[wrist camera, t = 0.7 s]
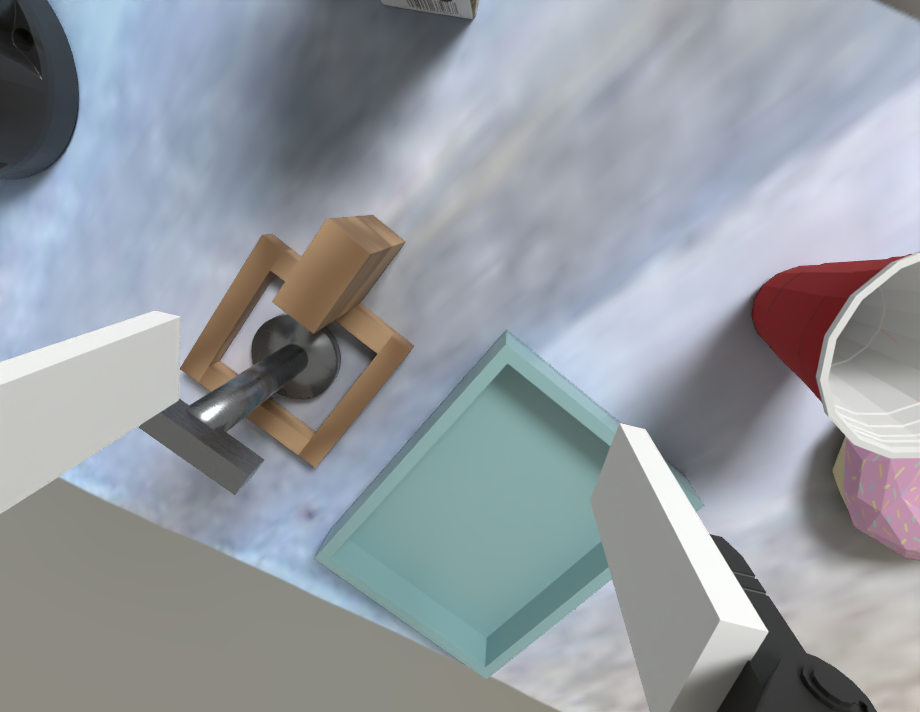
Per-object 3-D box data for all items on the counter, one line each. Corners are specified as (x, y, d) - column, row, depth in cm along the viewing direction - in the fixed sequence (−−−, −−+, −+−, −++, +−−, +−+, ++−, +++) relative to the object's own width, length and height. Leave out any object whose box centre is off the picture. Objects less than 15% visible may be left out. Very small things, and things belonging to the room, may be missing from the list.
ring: (191, 362, 39) (103, 406, 31) (313, 166, 33) (246, 153, 25) (322, 458, 41) (272, 525, 32) (461, 287, 35) (445, 314, 26)
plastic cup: (881, 364, 34) (1070, 446, 22) (721, 389, 35) (820, 477, 24) (886, 210, 31) (1108, 213, 19) (711, 246, 32) (819, 269, 21)
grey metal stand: (242, 359, 39) (94, 444, 25) (285, 294, 37) (148, 349, 23) (316, 413, 40) (211, 525, 26) (362, 354, 38) (274, 441, 24)
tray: (330, 529, 43) (314, 558, 40) (506, 329, 36) (506, 343, 32) (488, 642, 45) (486, 679, 42) (685, 476, 38) (704, 505, 34)
